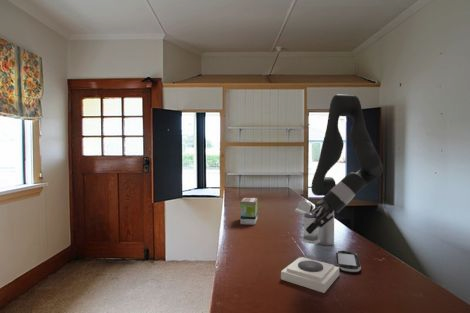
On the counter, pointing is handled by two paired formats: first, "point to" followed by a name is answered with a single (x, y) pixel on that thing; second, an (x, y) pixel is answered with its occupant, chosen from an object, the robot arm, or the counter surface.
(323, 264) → the stand
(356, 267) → the gaming console
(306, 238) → the knob
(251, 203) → the tea box
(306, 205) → the hinge
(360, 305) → the counter surface
